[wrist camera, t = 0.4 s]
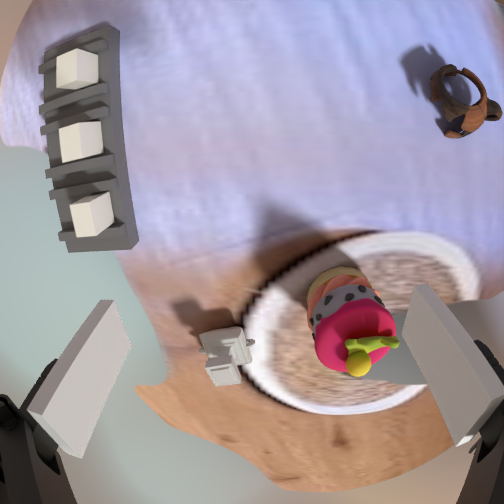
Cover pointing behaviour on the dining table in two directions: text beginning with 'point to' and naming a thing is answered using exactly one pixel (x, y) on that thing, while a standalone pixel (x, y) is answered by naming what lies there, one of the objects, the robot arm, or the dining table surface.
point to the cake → (348, 321)
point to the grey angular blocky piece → (225, 354)
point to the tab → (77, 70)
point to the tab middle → (80, 140)
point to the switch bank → (96, 166)
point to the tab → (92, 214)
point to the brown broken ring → (453, 108)
